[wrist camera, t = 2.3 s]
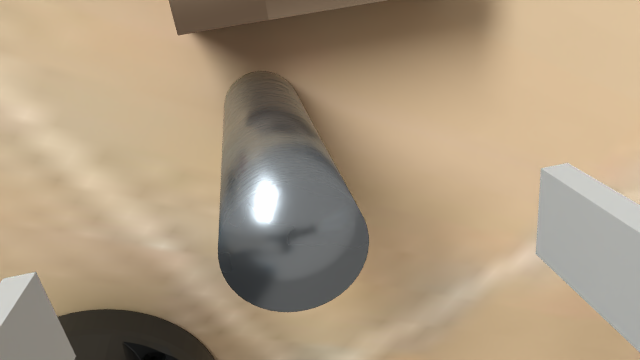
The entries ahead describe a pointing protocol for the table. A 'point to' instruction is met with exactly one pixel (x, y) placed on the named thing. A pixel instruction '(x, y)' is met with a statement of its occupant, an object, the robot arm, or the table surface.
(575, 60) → the table surface
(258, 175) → the peg
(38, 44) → the table surface
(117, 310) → the robot arm
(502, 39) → the table surface
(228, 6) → the socket
